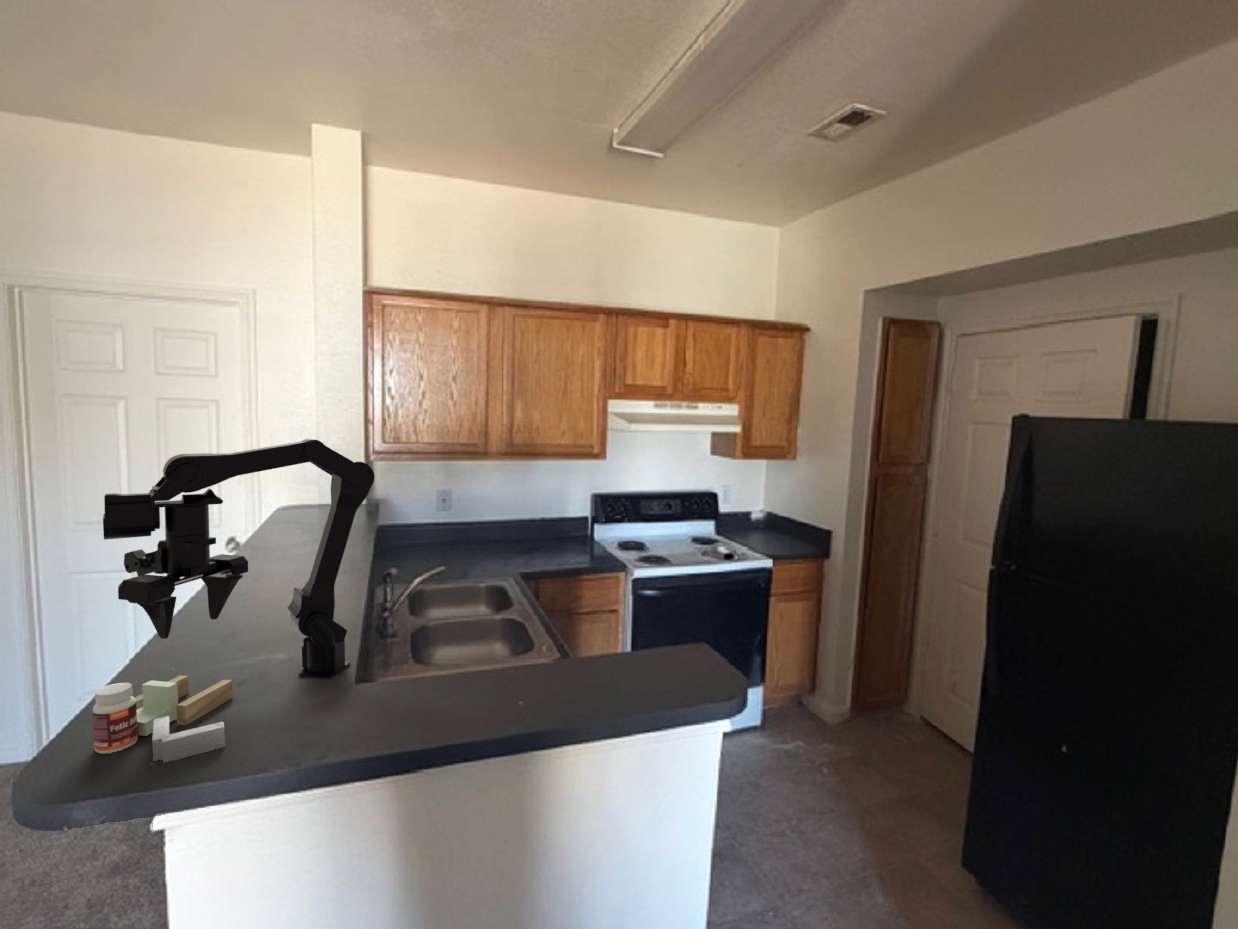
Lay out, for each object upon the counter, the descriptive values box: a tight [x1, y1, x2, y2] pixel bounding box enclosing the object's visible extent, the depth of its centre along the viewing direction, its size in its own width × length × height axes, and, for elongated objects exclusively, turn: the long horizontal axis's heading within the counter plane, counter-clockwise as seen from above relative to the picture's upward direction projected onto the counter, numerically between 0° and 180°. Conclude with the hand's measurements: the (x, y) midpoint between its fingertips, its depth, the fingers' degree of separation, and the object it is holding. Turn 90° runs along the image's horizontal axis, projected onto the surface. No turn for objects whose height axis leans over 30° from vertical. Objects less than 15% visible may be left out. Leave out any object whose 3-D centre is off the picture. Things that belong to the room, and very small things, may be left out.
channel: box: [135, 675, 234, 726], centre depth 96 cm, size 10×9×3 cm
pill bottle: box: [92, 682, 139, 755], centre depth 85 cm, size 5×5×8 cm
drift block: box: [137, 680, 179, 737], centre depth 90 cm, size 5×6×6 cm
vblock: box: [151, 716, 226, 764], centre depth 84 cm, size 11×6×3 cm, turn 81°
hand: (190, 628), depth 97 cm, fingers open, 9 cm apart
